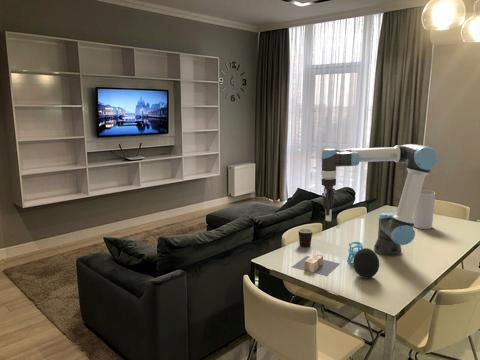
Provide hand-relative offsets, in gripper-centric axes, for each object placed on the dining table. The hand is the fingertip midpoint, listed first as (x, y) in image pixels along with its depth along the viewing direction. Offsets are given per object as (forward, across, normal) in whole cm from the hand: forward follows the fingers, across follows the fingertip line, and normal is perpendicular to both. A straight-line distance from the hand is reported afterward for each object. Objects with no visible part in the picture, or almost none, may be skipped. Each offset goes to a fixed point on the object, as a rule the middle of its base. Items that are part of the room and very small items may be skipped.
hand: (328, 220), depth 211 cm
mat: (+23, +10, -3) cm, 26 cm away
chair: (+24, -5, +13) cm, 28 cm away
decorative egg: (+24, +9, +23) cm, 34 cm away
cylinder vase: (+26, -94, +34) cm, 103 cm away
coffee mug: (+24, -16, -20) cm, 35 cm away
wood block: (+20, +7, -3) cm, 22 cm away
